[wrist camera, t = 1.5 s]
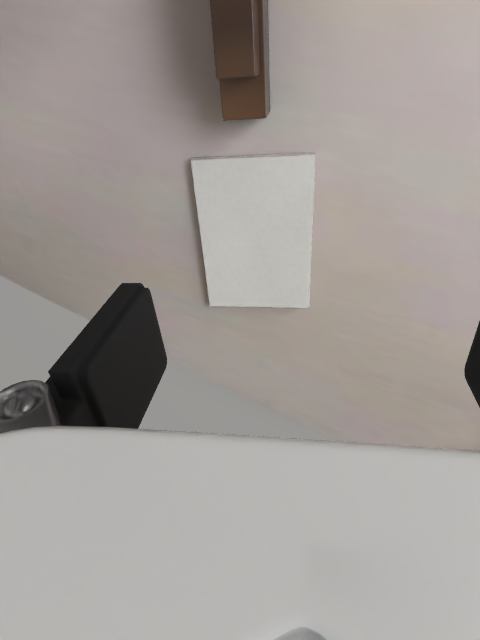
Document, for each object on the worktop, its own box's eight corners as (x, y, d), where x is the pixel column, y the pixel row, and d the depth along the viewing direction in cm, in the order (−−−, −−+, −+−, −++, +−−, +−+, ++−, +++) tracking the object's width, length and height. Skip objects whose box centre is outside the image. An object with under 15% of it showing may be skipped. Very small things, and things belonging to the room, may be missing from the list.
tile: (193, 157, 32) (190, 160, 31) (315, 152, 30) (315, 154, 29) (211, 301, 39) (209, 306, 39) (309, 302, 38) (309, 308, 37)
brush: (215, -112, 23) (189, -161, 18) (265, -120, 22) (253, -173, 17) (231, 114, 29) (215, 125, 24) (270, 112, 29) (262, 123, 24)
